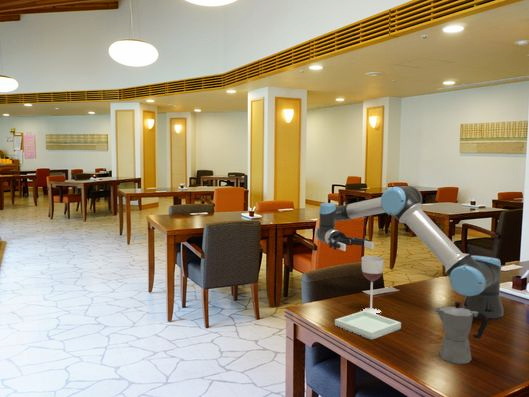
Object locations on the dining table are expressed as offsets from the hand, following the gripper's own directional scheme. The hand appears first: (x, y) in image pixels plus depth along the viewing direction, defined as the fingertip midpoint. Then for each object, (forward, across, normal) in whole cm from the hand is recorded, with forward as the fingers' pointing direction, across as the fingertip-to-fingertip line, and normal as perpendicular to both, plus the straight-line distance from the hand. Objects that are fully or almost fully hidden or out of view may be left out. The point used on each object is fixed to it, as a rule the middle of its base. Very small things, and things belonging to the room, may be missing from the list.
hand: (359, 247), depth 196 cm
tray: (+26, +11, -25) cm, 38 cm away
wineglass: (+10, 0, -25) cm, 27 cm away
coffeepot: (+59, -2, -24) cm, 64 cm away
